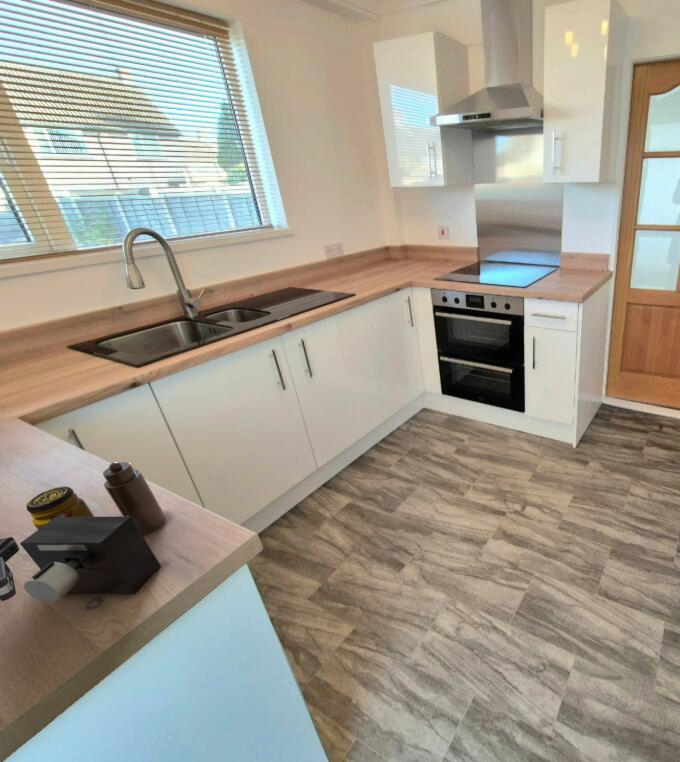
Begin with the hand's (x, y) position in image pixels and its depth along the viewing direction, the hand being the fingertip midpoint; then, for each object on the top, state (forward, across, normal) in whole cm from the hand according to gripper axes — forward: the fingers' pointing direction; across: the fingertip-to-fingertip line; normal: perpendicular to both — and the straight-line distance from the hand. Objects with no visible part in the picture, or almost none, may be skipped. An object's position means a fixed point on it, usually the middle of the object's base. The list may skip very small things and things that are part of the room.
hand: (8, 543), depth 54 cm
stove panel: (+6, -3, +14) cm, 16 cm away
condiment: (+15, +4, +14) cm, 21 cm away
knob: (+2, -2, +10) cm, 10 cm away
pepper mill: (+18, -3, +13) cm, 22 cm away
